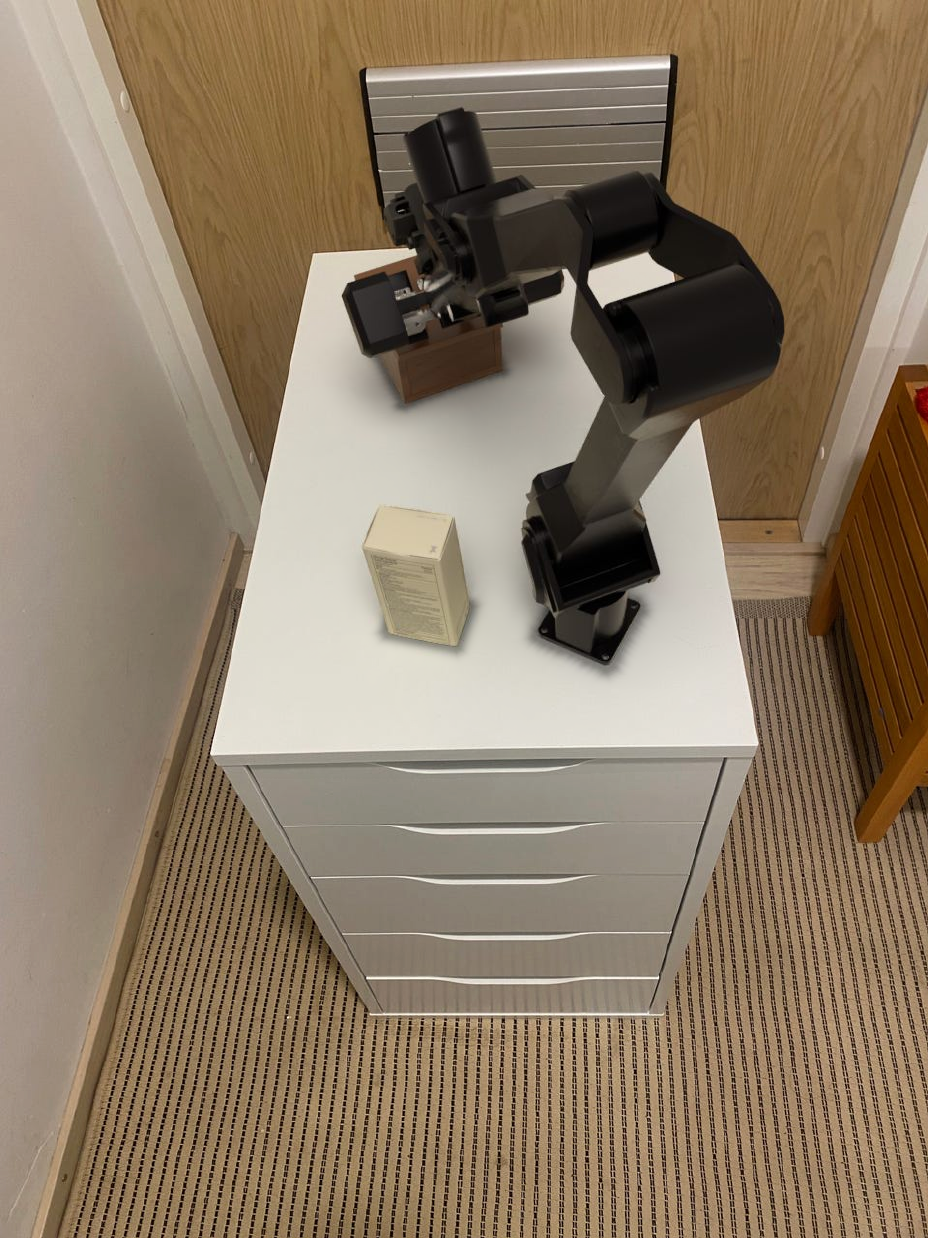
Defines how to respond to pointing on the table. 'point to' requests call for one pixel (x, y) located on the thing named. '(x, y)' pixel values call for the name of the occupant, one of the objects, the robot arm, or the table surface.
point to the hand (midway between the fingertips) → (436, 306)
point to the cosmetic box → (418, 573)
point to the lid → (433, 327)
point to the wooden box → (445, 366)
